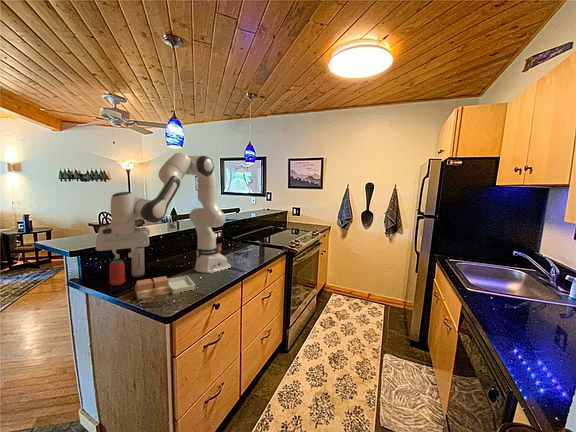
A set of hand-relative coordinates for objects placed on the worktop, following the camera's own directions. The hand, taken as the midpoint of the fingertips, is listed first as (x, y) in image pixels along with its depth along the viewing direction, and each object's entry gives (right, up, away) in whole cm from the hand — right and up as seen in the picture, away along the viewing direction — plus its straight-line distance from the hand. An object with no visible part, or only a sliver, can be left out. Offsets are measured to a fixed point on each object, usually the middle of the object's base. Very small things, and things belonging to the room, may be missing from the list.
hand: (124, 257), depth 111 cm
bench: (+8, -19, +9) cm, 22 cm away
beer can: (-15, -17, +17) cm, 28 cm away
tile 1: (+5, -16, +7) cm, 18 cm away
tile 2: (+11, -16, +11) cm, 22 cm away
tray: (+18, -18, +17) cm, 31 cm away
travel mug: (-12, -15, +29) cm, 35 cm away
